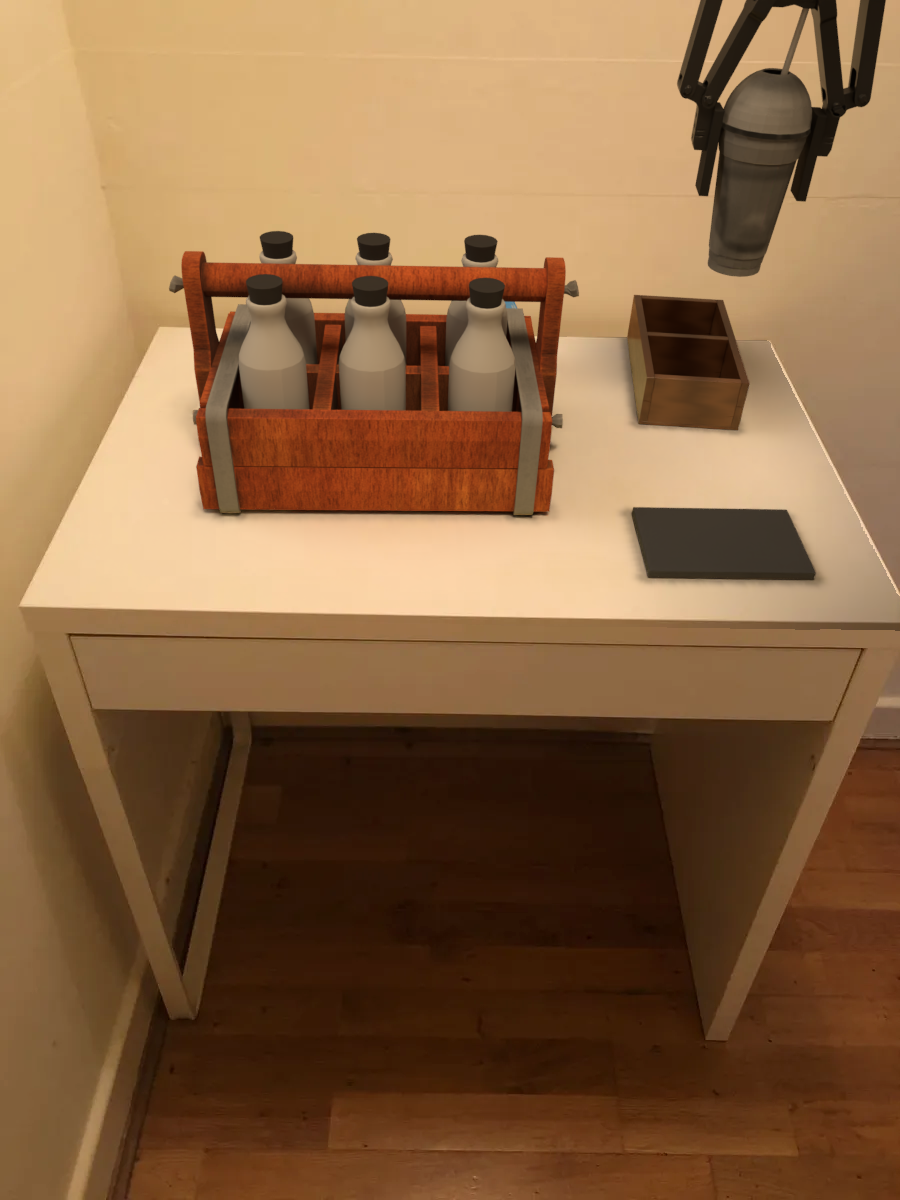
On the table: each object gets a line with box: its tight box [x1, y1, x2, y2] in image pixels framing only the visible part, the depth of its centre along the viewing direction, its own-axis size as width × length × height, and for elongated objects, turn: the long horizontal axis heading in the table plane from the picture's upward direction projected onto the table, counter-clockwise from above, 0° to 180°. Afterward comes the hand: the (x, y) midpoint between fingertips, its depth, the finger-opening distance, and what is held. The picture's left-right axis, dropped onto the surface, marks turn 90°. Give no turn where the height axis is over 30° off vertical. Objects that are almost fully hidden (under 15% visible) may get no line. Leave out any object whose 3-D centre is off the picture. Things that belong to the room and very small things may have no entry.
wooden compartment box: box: [626, 294, 751, 431], centre depth 106 cm, size 10×19×5 cm, turn 176°
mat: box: [631, 506, 817, 581], centre depth 85 cm, size 14×9×1 cm, turn 91°
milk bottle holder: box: [168, 230, 580, 516], centre depth 88 cm, size 21×35×19 cm, turn 92°
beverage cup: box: [707, 8, 813, 278], centre depth 80 cm, size 7×7×20 cm
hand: (749, 192), depth 82 cm, fingers closed on beverage cup, 7 cm apart
